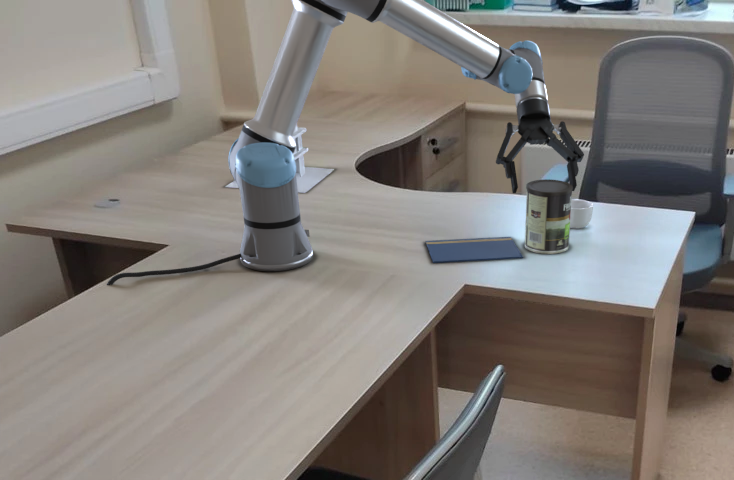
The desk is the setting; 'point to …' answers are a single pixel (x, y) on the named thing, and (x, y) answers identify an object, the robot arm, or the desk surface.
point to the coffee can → (548, 216)
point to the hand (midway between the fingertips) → (544, 189)
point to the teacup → (580, 213)
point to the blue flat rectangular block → (473, 249)
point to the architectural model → (301, 166)
